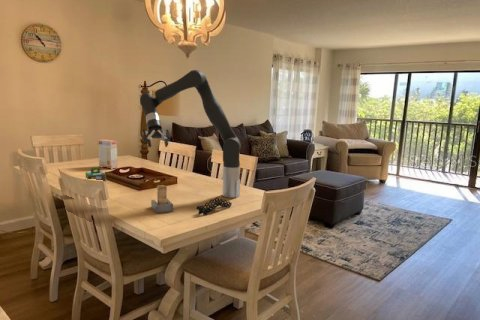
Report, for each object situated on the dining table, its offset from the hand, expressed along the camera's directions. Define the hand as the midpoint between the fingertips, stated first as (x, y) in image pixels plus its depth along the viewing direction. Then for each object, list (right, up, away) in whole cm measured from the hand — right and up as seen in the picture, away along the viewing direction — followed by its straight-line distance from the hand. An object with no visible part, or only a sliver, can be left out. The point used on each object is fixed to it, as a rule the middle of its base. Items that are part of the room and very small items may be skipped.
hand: (158, 146), depth 186 cm
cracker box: (-56, -13, +80) cm, 99 cm away
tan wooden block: (+5, -31, -13) cm, 34 cm away
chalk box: (-38, -26, +12) cm, 47 cm away
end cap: (+5, -31, -13) cm, 34 cm away
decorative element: (+30, -33, -11) cm, 46 cm away
